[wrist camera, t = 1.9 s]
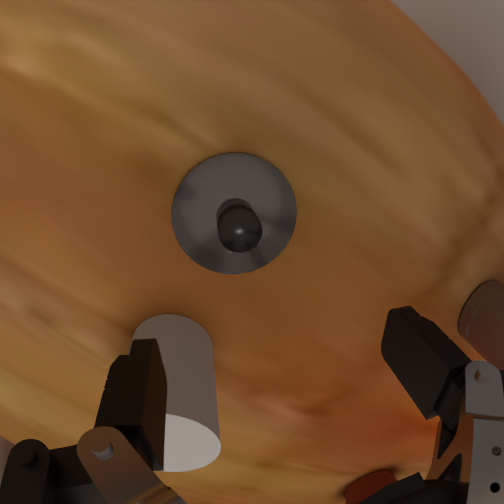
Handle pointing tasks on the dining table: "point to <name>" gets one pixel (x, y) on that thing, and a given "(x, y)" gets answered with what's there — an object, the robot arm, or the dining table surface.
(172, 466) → the light grey cylinder
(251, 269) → the lid
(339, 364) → the dining table surface
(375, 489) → the potted plant
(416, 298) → the dining table surface
